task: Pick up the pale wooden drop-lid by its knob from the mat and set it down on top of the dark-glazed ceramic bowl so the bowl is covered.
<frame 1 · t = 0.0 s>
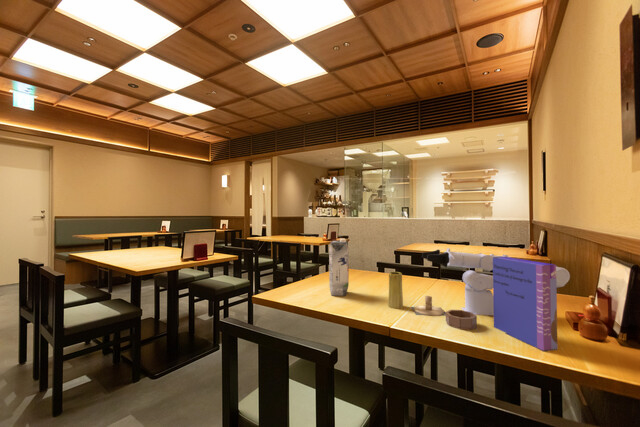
hand: (424, 256, 116), 22 cm above the table, tool horizontal, fingers open, 7 cm apart
lid: (428, 303, 115), on the mat
vase: (395, 307, 121), on the table
mat: (428, 311, 115), on the table
juice carton: (339, 294, 143), on the table
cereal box: (522, 338, 90), on the table
bowl: (460, 325, 100), on the table
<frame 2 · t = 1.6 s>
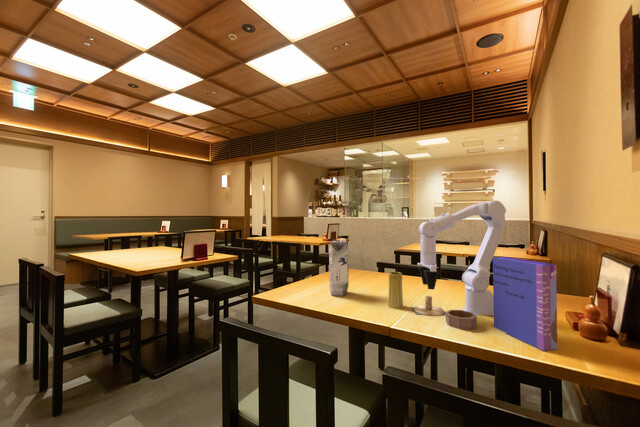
hand: (428, 286, 115), 10 cm above the table, tool pointing down, fingers open, 7 cm apart
nothing on the table moved.
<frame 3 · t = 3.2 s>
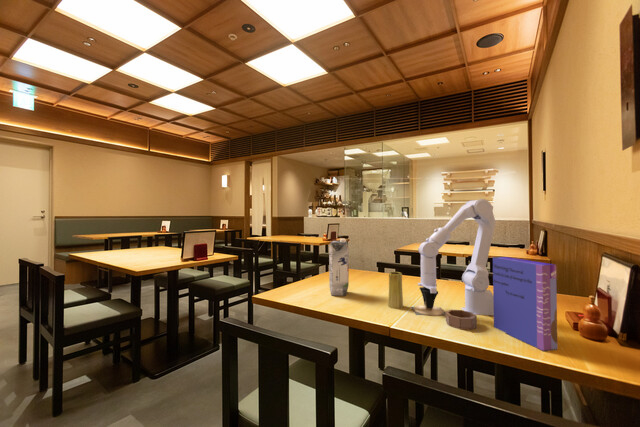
hand: (428, 307, 115), 2 cm above the table, tool pointing down, fingers closed on lid, 2 cm apart
lid: (428, 303, 115), on the mat, touching gripper
everything else where it was.
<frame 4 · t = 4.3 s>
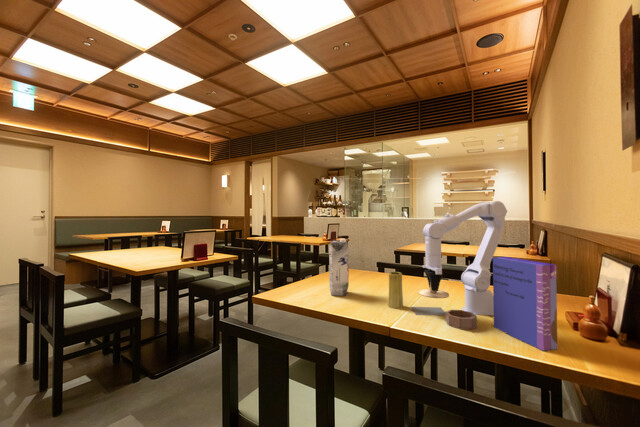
hand: (433, 289, 112), 9 cm above the table, tool pointing down, fingers closed on lid, 2 cm apart
lid: (433, 287, 112), point 10 cm above the table, touching gripper
everything else where it was.
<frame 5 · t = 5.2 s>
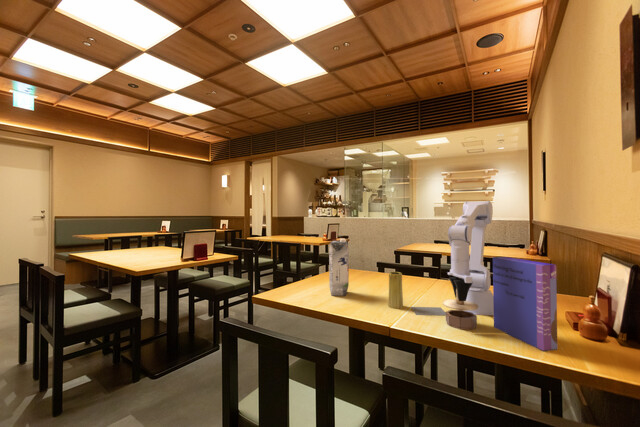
hand: (460, 299, 100), 9 cm above the table, tool pointing down, fingers closed on lid, 2 cm apart
lid: (460, 297, 100), point 10 cm above the table, touching gripper
everything else where it was.
when the fingers open (7 cm above the table, at t = 5.8 s): lid stays where it is, resting on bowl.
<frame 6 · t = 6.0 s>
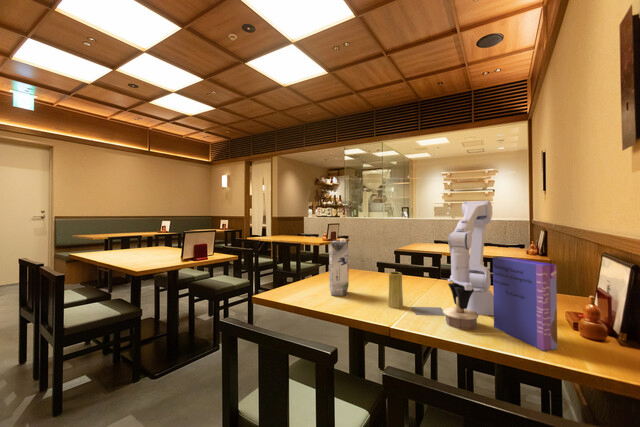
hand: (460, 306, 100), 7 cm above the table, tool pointing down, fingers open, 4 cm apart
lid: (460, 305, 100), on the bowl, point 7 cm above the table
everything else where it was.
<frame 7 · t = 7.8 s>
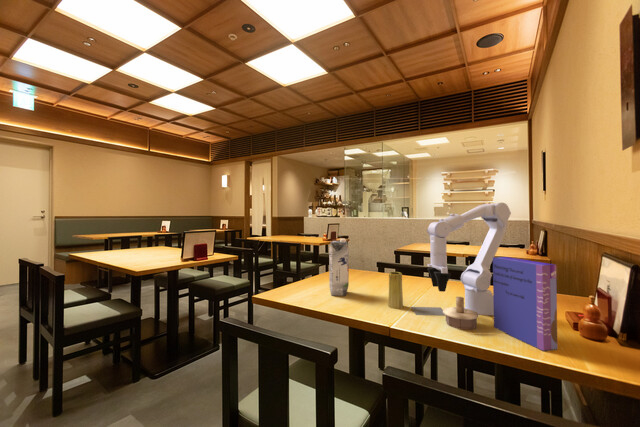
hand: (438, 288, 112), 10 cm above the table, tool pointing down, fingers open, 7 cm apart
nothing on the table moved.
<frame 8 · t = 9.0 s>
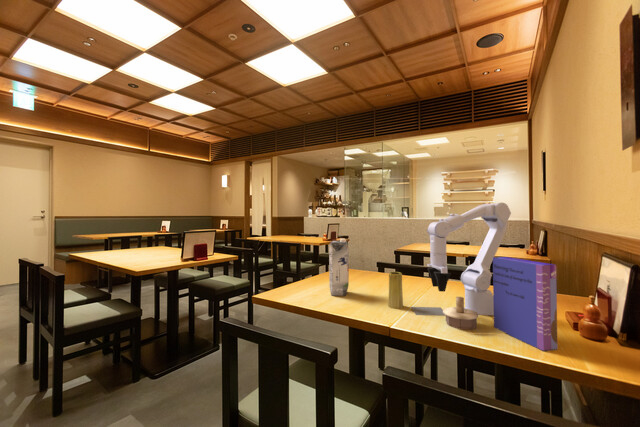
hand: (438, 288, 112), 10 cm above the table, tool pointing down, fingers open, 7 cm apart
nothing on the table moved.
at the end: lid 0.2 cm off-centre on the bowl, point 6.8 cm above the bowl's base; lid tilted 0°; the gripper is holding nothing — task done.
